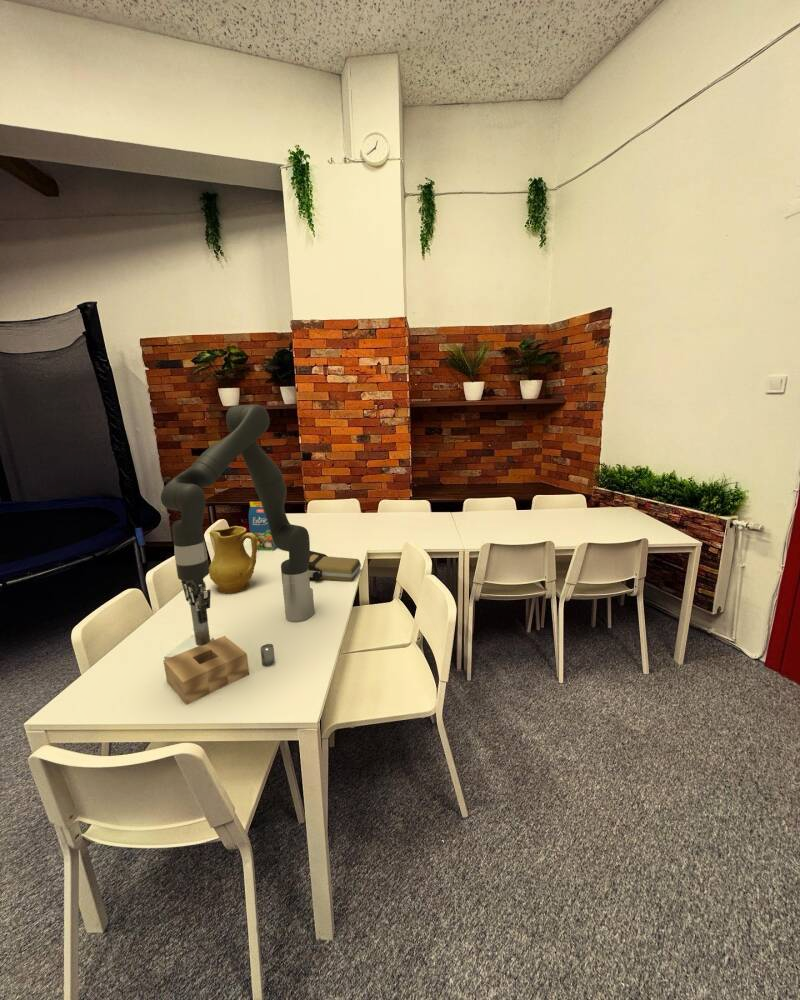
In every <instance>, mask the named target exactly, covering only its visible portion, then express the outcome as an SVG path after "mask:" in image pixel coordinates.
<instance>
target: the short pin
mask: <svg viewBox="0 0 800 1000" xmlns="http://www.w3.org/2000/svg"><path fill="white" fill-rule="evenodd" d="M260 657H261V665H262V666H263V667H271V666H273V665H274V664H275V663H276V660H275V659H276V658H275V650H274V644H272V643H266V644H263V645H261V647H260Z"/></svg>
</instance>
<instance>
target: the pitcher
mask: <svg viewBox="0 0 800 1000" xmlns="http://www.w3.org/2000/svg"><path fill="white" fill-rule="evenodd" d="M209 534H210V536H211V537H212V539H213V541H214V555H213V557H212V561H211V562H210V563H209V574H208V576H209V579H210V580H211V582H213V583H214V584H215V585H217V586H218V587H217V591H218V592H219V593H222V594H225V595H226V594H235V593H240V592H241V591H244V590H246V589H248V588H249V587H250V585H251V584H250V583H249V581H250V580H251V578H252V576H253V574H254V573H255V566H256V563H257V553H258V550H257V538H256V535H255V534H253V533H250V532H247V528H246V527H244V526H238V525H233V526H229V527H227V528H222V529H214V530H211V531H209ZM246 539H249V540H250V542H251V541H252V545H251V556H250V555H249V554H248V553H247V551H246V549H245V548H246V547H245V545H244V543H245V541H246Z"/></svg>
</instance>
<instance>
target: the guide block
mask: <svg viewBox="0 0 800 1000" xmlns="http://www.w3.org/2000/svg"><path fill="white" fill-rule="evenodd" d="M248 660H249V659H248V653H247V652H246V651H245V650H244V649H242V648H240V647H239V646H238V644H236V643H235V642H233V641H232V640H230V639H229V638H228V637H227V636H226V635H223V636H220V637H218V638H216V639H215V638H214V640H213V641H210V642H209V643H208V644H206V645H202V646H198V647H195V648H193V649H190V650H188V651H185V652H183V653H180V654H178V655H175V656H173V657H170V658H168V659H164V660H163V661H162V662H163V666H164V673H165V679H166V682H167V683H168V685H169V686H170V687H171V689H172V690H173V691H174V692H175V693H176V694H177V695H178V697H179V698H180V699H181V700H182V701H183V703H184V704H185V705H189V704H191V703H193V702H195V701H197V700H199V699H201V698H203V697H205V696H207V695H209V694H211V693H213V692H216V691H217V690H219V689H222V688H224V687H226V686H229V684H232V683H234V682H237V681H239V680H240V679H242V678H245V677H247V676H249V675H250V670H249V661H248Z"/></svg>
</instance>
